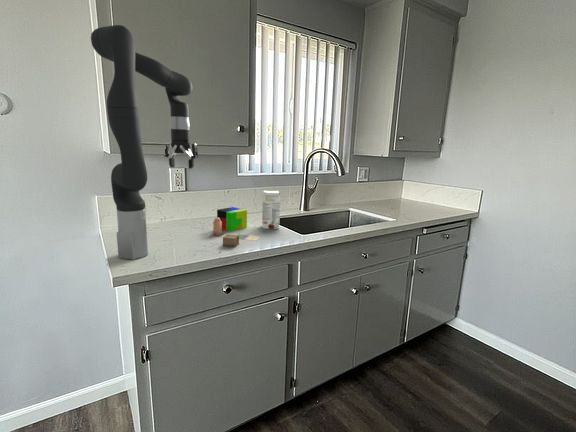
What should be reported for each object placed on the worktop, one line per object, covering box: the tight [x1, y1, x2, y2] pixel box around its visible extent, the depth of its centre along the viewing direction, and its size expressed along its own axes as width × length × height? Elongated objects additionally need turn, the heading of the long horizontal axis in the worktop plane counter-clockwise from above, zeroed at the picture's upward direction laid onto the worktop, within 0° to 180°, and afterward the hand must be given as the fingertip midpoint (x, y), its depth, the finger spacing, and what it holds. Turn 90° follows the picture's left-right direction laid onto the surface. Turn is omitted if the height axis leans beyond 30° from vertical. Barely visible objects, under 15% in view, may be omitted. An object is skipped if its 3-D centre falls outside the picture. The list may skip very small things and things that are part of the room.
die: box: [222, 233, 240, 248], centre depth 131 cm, size 5×5×5 cm
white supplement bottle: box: [261, 190, 281, 230], centre depth 160 cm, size 8×9×19 cm
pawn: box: [212, 217, 223, 236], centre depth 144 cm, size 4×4×8 cm
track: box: [209, 232, 262, 242], centre depth 144 cm, size 7×22×1 cm, turn 78°
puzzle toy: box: [216, 206, 248, 232], centre depth 158 cm, size 10×10×10 cm
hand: (181, 167), depth 139 cm, fingers open, 8 cm apart
